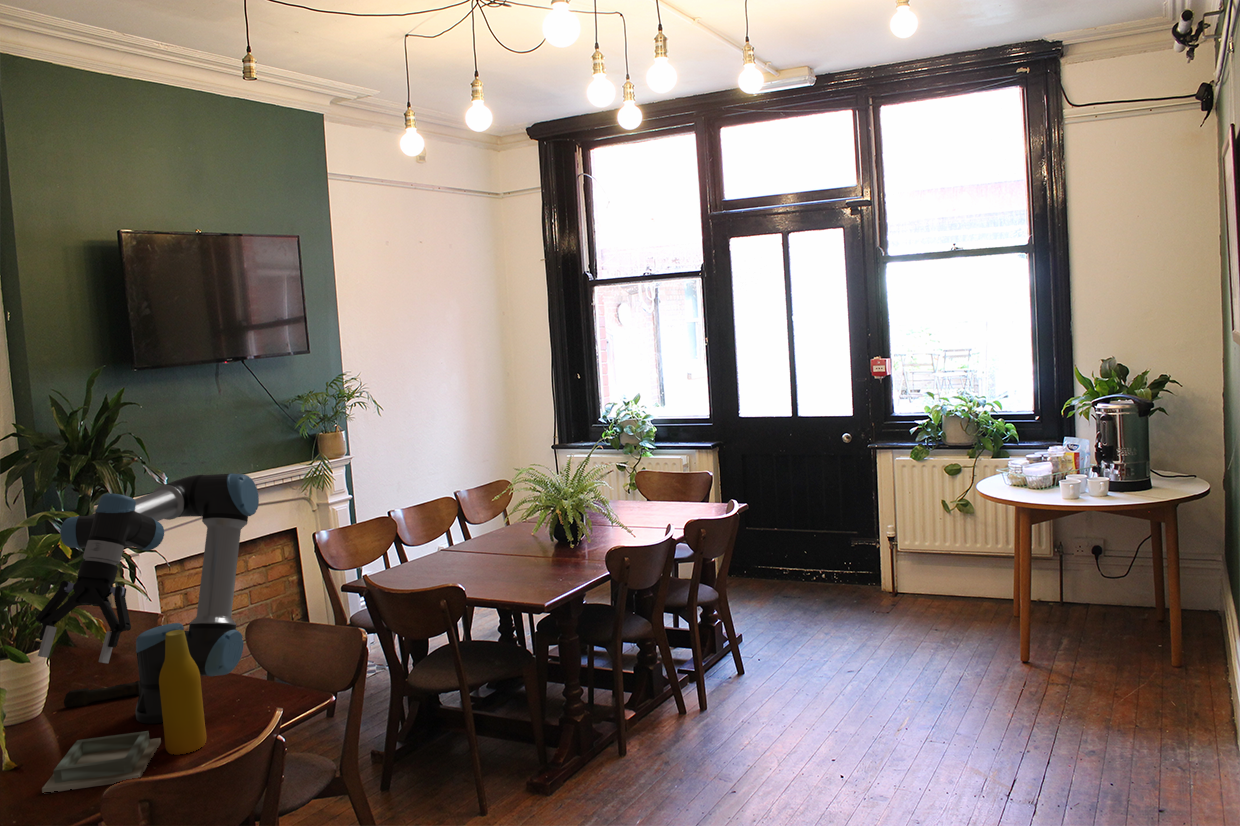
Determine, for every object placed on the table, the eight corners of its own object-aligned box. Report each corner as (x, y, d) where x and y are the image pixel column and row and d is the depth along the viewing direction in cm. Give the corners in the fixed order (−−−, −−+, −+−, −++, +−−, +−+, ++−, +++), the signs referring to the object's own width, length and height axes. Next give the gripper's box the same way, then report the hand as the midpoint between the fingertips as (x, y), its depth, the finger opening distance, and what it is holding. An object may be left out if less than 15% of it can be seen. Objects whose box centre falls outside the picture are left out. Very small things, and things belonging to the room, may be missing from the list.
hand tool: (142, 691, 271) (140, 676, 270) (140, 696, 267) (139, 680, 267) (66, 705, 264) (64, 689, 263) (64, 710, 260) (62, 694, 260)
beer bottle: (162, 746, 233) (150, 632, 230) (201, 735, 239) (190, 623, 236) (170, 759, 226) (158, 642, 223) (211, 747, 232) (200, 632, 229)
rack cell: (72, 754, 231) (71, 737, 231) (161, 742, 236) (159, 726, 235) (42, 793, 212) (40, 775, 212) (139, 779, 216) (137, 762, 216)
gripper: (36, 554, 209) (6, 652, 202) (146, 564, 207) (119, 663, 200) (56, 561, 216) (28, 656, 209) (162, 570, 214) (137, 666, 207)
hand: (73, 660), depth 204 cm, fingers open, 13 cm apart
